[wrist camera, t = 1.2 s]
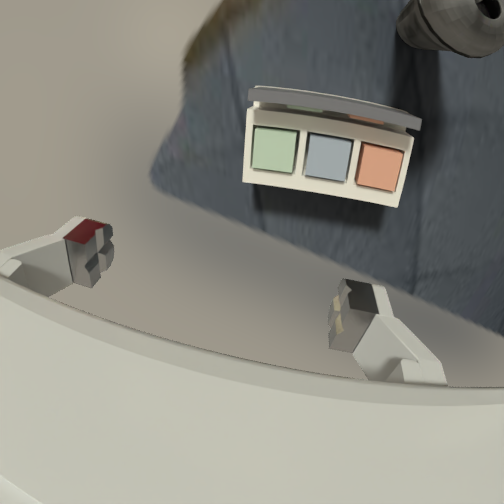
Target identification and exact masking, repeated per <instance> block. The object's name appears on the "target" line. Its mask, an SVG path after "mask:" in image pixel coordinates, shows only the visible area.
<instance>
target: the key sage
mask: <svg viewBox="0 0 504 504" xmlns="http://www.w3.org/2000/svg"><path fill="white" fill-rule="evenodd" d="M297 131H298V130H291V129H284V128H275V127H267V126H258V127H257V128H256V129H255V136H254V149H253V163H252V168H260V169H268V170H275V171H283V172H290V173H292V170H293V165H294V157H295V149H296V140H297Z"/></svg>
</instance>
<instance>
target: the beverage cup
mask: <svg viewBox="0 0 504 504" xmlns="http://www.w3.org/2000/svg"><path fill="white" fill-rule="evenodd" d="M396 28H397V31H398V34H399V35H400V37H401V39H402V40H403V41H404V42H405V43H406V44H408V45H410V46H411V47H414V48H418V49H423V50H442V51H452V52H454V53H457V54H460V55H462V56H465V57H467V58H482V57H485V56H488V55H490V54H492V53H494V52H496V51H498V50H499V49H500V48H501V47H502V46H503V45H504V0H410V1H409V2H408V4H407V5H406V6H405V7H404V9H403V10H402V11H401V13H400V15H399V16H398V18H397V21H396Z"/></svg>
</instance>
